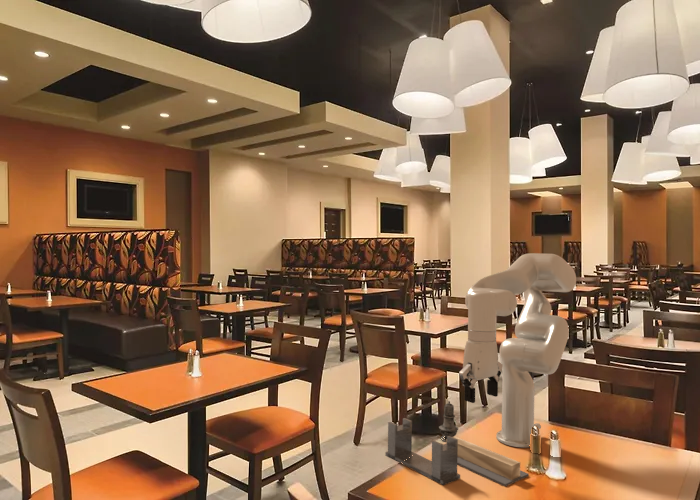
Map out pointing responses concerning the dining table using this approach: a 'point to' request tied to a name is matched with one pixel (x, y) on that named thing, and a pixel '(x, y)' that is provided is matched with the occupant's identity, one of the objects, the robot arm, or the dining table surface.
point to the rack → (437, 469)
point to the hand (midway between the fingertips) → (481, 398)
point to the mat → (489, 472)
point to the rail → (488, 459)
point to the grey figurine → (448, 422)
